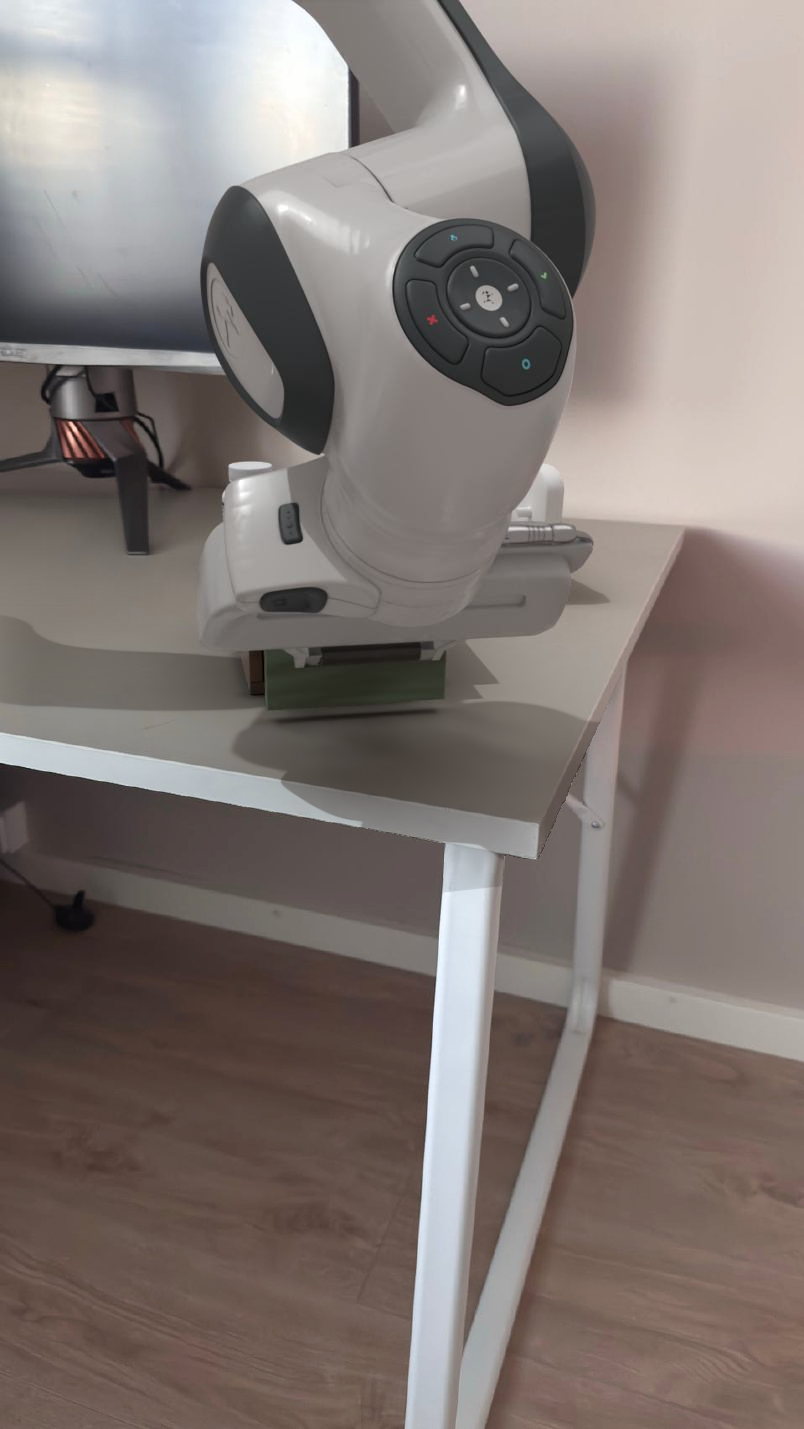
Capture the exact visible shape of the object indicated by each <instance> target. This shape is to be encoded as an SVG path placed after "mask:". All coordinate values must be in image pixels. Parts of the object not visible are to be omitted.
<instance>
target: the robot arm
mask: <svg viewBox="0 0 804 1429" xmlns="http://www.w3.org/2000/svg"><path fill="white" fill-rule="evenodd" d="M291 2H293V3H295V4H296V5H297V6H299V7H300V8H301V9H303V10H305V12H306V13H307V14H308V15H309V16H310V17H311V18H312V19H313V20H314V21H315V22H316V23H317V24H318V25H319V27H320V28H321V29H322V31H323V32H324V34H325V35H326V36H327V38H328V40H329V41H330V42H331V44H332V45H333V47H334V48H335V49H336V51H337V52H338V54H339V55H340V57H341V58H342V59H343V61H344V62H345V64H346V65H347V67H348V68H349V70H350V71H351V73H352V74H353V75H354V77H355V78H356V80H357V81H358V83H359V84H360V86H361V87H362V88H363V90H364V91H365V93H366V94H367V95H368V97H369V99H370V100H371V101H372V104H374V106H375V108H377V110H378V112H379V113H380V114H381V116H382V118H383V120H384V121H385V122H386V123H387V124H388V126H389V128H390V129H391V131H392V132H393V133H392V134H389V135H387V136H384V137H380V138H378V139H374V140H371V141H369V142H365V143H361V144H358V145H356V146H353V147H349V148H347V149H343V150H340V151H333V152H331V151H330V152H326V153H323V154H320V155H316V156H313V157H311V158H307V159H305V160H302V161H301V160H300V161H298V162H295V163H292V164H289V165H286V166H283V167H280V168H278V169H275V170H272V171H269V172H266V173H262V174H260V175H257V176H255V177H252V178H250V179H247V180H245V181H243V182H241V183H239V184H237V185H231V186H230V187H228V188H227V189H226V190H225V192H224V193H223V195H222V196H221V197H220V199H219V201H218V203H217V205H216V207H215V208H214V211H213V213H212V214H211V215H212V216H211V218H210V221H209V224H208V227H207V230H206V234H205V238H204V243H203V248H202V254H201V259H200V260H201V262H200V268H199V269H200V272H199V280H200V281H199V282H200V285H199V286H200V297H201V304H202V312H203V317H204V322H205V327H206V330H207V334H208V337H209V341H210V344H211V347H212V350H213V352H214V355H215V357H216V359H217V362H218V363H219V365H220V367H221V369H222V371H223V372H224V374H225V376H226V378H227V379H228V381H229V382H230V384H231V386H232V387H233V388H234V390H235V391H236V393H237V394H238V395H239V396H240V398H241V399H242V400H243V401H244V403H245V404H246V405H247V406H248V407H249V408H250V409H251V410H252V411H253V413H255V414H256V415H257V416H258V417H259V418H260V419H261V420H262V421H264V423H266V424H267V425H269V426H270V427H271V428H273V429H274V430H276V431H277V432H278V433H280V435H282V436H284V437H285V438H286V439H288V441H291V442H292V443H293V444H295V445H296V446H298V447H299V448H301V449H302V450H305V451H306V452H308V453H311V454H313V455H316V456H319V457H317V458H314V459H310V460H308V461H305V462H302V463H299V464H295V465H292V466H288V467H284V468H280V469H277V470H273V471H271V472H267V473H262V474H257V475H252V476H248V477H243V478H240V479H237V480H234V481H232V482H229V483H228V484H227V486H225V489H224V491H225V499H224V522H223V521H221V522H220V523H219V524H218V525H217V526H215V527H214V528H213V530H212V531H211V532H210V534H209V535H208V537H207V538H206V540H205V543H204V546H203V548H202V552H201V556H200V559H199V562H198V563H199V564H198V568H197V574H196V582H195V604H196V605H195V606H196V621H197V630H198V639H199V643H200V645H201V646H203V647H204V648H206V649H208V650H210V651H213V652H215V653H231V652H232V653H233V652H239V651H253V650H272V649H283V650H284V651H286V652H287V653H289V654H290V655H292V656H294V664H295V668H308V667H320V662H321V658H322V652H321V647H329V646H349V645H368V644H387V643H406V642H420V644H421V657H420V661H427V660H432V661H433V660H440V658H441V656H442V654H443V652H444V650H446V651H448V650H449V649H452V648H454V647H456V646H458V645H461V644H462V643H464V642H467V641H468V640H479V639H480V640H481V639H498V638H499V639H500V638H501V639H502V638H517V637H518V638H519V637H534V636H538V635H541V634H543V633H545V632H547V631H549V630H551V629H553V628H554V627H555V626H556V625H557V623H558V622H559V621H560V618H561V616H562V614H563V612H564V611H565V608H566V605H567V602H568V600H569V597H570V595H571V590H572V586H573V580H572V579H573V578H572V574H573V573H575V572H577V571H578V570H579V569H581V568H582V567H583V566H584V565H585V563H586V562H587V561H588V559H589V557H590V556H591V555H592V554H593V550H594V539H593V537H592V535H591V534H590V533H588V532H586V531H583V530H579V529H577V527H576V526H575V525H574V524H573V523H569V522H568V523H566V522H561V523H548V522H542V521H511V518H512V511H513V510H514V509H515V508H516V507H517V506H518V505H519V504H520V503H521V502H522V500H523V499H524V498H525V496H526V495H527V493H528V492H529V490H530V488H531V487H532V485H533V483H534V481H535V479H536V477H537V475H538V473H539V471H540V468H541V466H542V464H543V463H545V460H546V458H547V456H548V454H549V451H550V449H551V447H552V444H553V442H554V439H555V437H556V435H557V432H558V430H559V428H560V425H561V422H562V419H563V417H564V414H565V410H566V407H567V405H568V404H567V403H568V401H569V397H570V394H571V390H572V389H571V388H572V385H573V379H574V375H575V374H574V373H575V365H576V355H577V317H576V312H575V307H574V302H573V299H574V297H575V295H576V294H577V292H578V290H579V287H580V285H581V283H582V280H583V278H584V276H585V274H586V270H587V268H588V266H589V261H590V259H591V254H592V252H593V246H594V241H595V237H596V236H595V234H596V227H597V226H596V225H597V205H596V204H597V203H596V196H595V189H594V186H593V182H592V179H591V176H590V173H589V170H588V169H587V166H586V164H585V162H584V159H583V157H582V155H581V153H580V152H579V150H578V149H577V146H576V145H575V143H574V142H573V140H572V139H571V137H570V136H569V134H568V133H567V132H566V130H564V128H563V126H562V125H561V124H560V123H559V122H558V121H557V120H556V118H554V117H553V116H552V114H551V113H550V112H549V111H548V110H547V109H546V108H545V107H544V106H543V105H542V104H541V102H539V101H538V100H537V99H536V98H535V97H534V96H533V95H532V94H531V93H530V91H529V90H527V89H526V88H525V87H524V86H523V85H522V84H521V83H520V82H519V80H518V79H516V77H515V76H514V75H513V74H512V73H511V72H510V70H509V69H508V68H507V67H506V66H505V65H504V63H503V62H502V60H501V59H500V58H499V56H498V54H496V52H495V51H494V50H493V48H492V47H491V45H490V44H489V43H488V41H487V39H486V38H485V37H484V35H483V34H482V32H481V30H480V29H479V28H478V26H477V25H476V23H475V22H474V21H473V19H472V17H471V15H470V14H469V13H468V11H467V10H466V8H465V7H464V6H463V3H461V1H460V0H291ZM321 454H323V455H322V456H320V455H321Z"/></svg>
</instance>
